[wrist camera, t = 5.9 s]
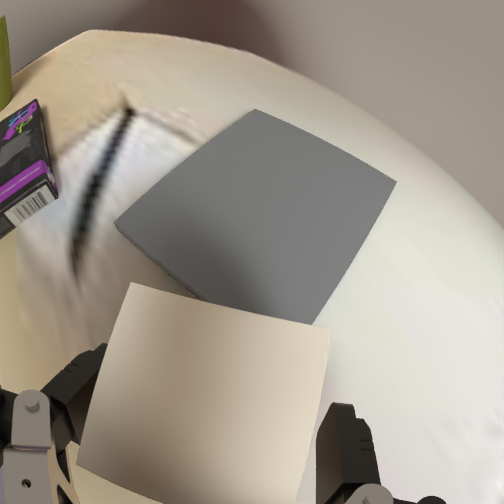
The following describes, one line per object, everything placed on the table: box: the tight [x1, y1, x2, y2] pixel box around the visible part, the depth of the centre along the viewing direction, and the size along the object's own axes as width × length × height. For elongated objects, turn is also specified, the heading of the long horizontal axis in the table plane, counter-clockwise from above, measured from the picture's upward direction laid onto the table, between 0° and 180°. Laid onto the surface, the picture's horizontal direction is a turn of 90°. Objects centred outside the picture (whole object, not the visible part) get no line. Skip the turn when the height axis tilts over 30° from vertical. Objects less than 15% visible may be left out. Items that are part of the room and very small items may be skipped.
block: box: [76, 282, 332, 504], centre depth 10 cm, size 5×5×10 cm
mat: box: [114, 109, 397, 325], centre depth 20 cm, size 14×16×1 cm
